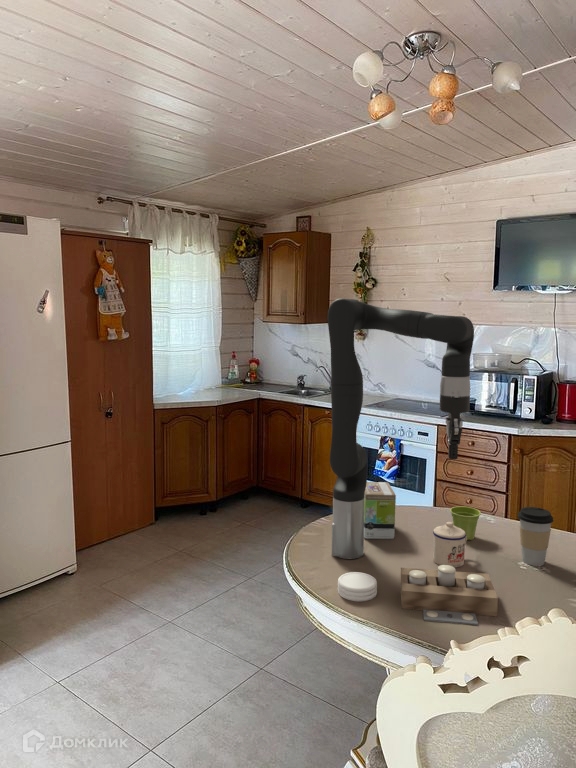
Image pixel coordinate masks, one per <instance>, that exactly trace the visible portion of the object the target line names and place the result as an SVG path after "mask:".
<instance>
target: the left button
mask: <svg viewBox="0 0 576 768" xmlns="http://www.w3.org/2000/svg"><path fill="white" fill-rule="evenodd" d="M409 575H410V577H409V584H420V585H426V573H425V572H423V571H420V570H412V571H410V572H409Z"/></svg>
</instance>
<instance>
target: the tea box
mask: <svg viewBox="0 0 576 768" xmlns="http://www.w3.org/2000/svg"><path fill="white" fill-rule="evenodd" d="M396 496H397V495H396V493H395V491H394V490H393V488H392V487H391V484H390V483H389V482H388V481H387V482H385V481H384V482H383V481H378V482H377V481H367V484H366V489H365V493H364V539H374V540H375V539H376V540H386V539H387V540H392V539H395V527H396V525H395V524H396V502H397V500H396V499H397V497H396Z"/></svg>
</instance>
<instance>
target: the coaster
mask: <svg viewBox="0 0 576 768" xmlns="http://www.w3.org/2000/svg"><path fill="white" fill-rule="evenodd" d="M377 589H378V582H377V579H376V578H375V577H374V576H372V575H371V574H368V573H366V572H361V571H360V572H358V571H349V572H346V573H343V574H342V575H340V576H339V577H338V579H337V592H338V595H339V596H340V597H341V598H343V599H345V600H349V601H352V602H367V601H370V600H373V599H374V598H376V596H377V594H378V591H377Z"/></svg>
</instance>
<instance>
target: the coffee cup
mask: <svg viewBox="0 0 576 768" xmlns="http://www.w3.org/2000/svg"><path fill="white" fill-rule="evenodd" d="M517 518H518V519H519V538H520V547H521V557H522V559H521V560H522V562H523V563H524V564H526V565H530V566H533V567H534V566H535V567H541V566H544V564H545V563H546V557H547V553H548V552H547V550H548V548H549V541H550V538H551V537H550V536H551V530H552V529H551V526H552V523H553V522H554V516H552V513H551V511H549V510H547V509H544V508H541V507H537V506H536V507H534V506H525V507H521V508H520V511H519V512H518V513H517Z"/></svg>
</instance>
